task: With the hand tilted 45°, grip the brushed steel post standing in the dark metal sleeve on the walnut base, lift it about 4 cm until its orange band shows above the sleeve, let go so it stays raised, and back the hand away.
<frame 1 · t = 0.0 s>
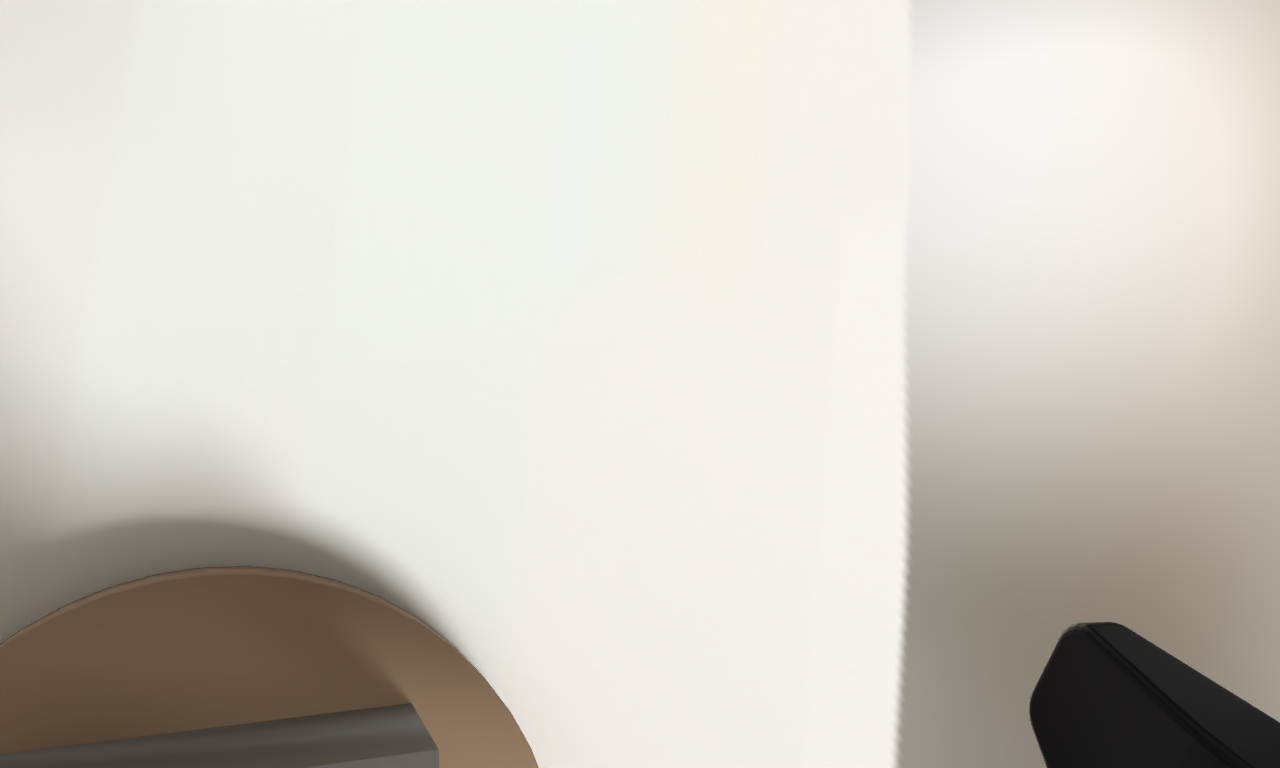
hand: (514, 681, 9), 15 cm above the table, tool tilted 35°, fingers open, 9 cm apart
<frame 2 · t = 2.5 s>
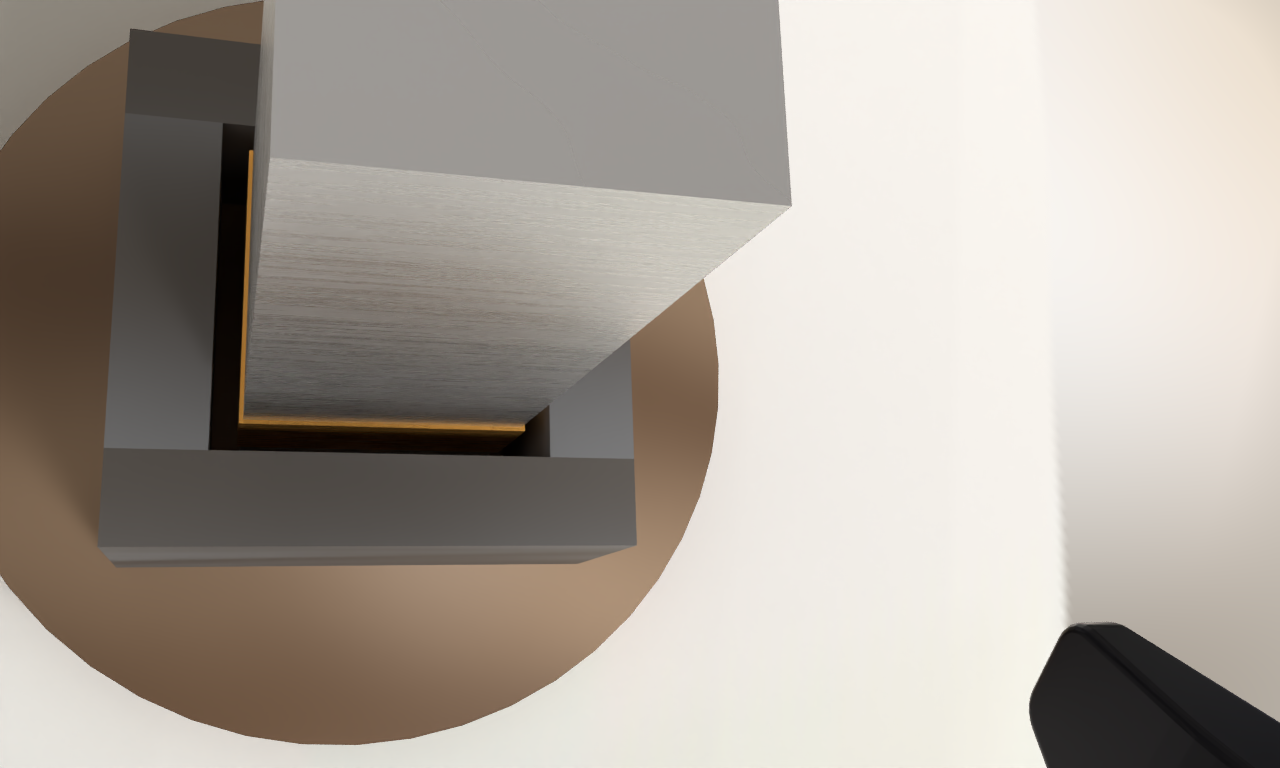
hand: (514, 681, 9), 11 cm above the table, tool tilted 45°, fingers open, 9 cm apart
post: (421, 219, 14), point 7 cm above the table, slide at 0.0 cm
stand base: (357, 362, 20), on the table
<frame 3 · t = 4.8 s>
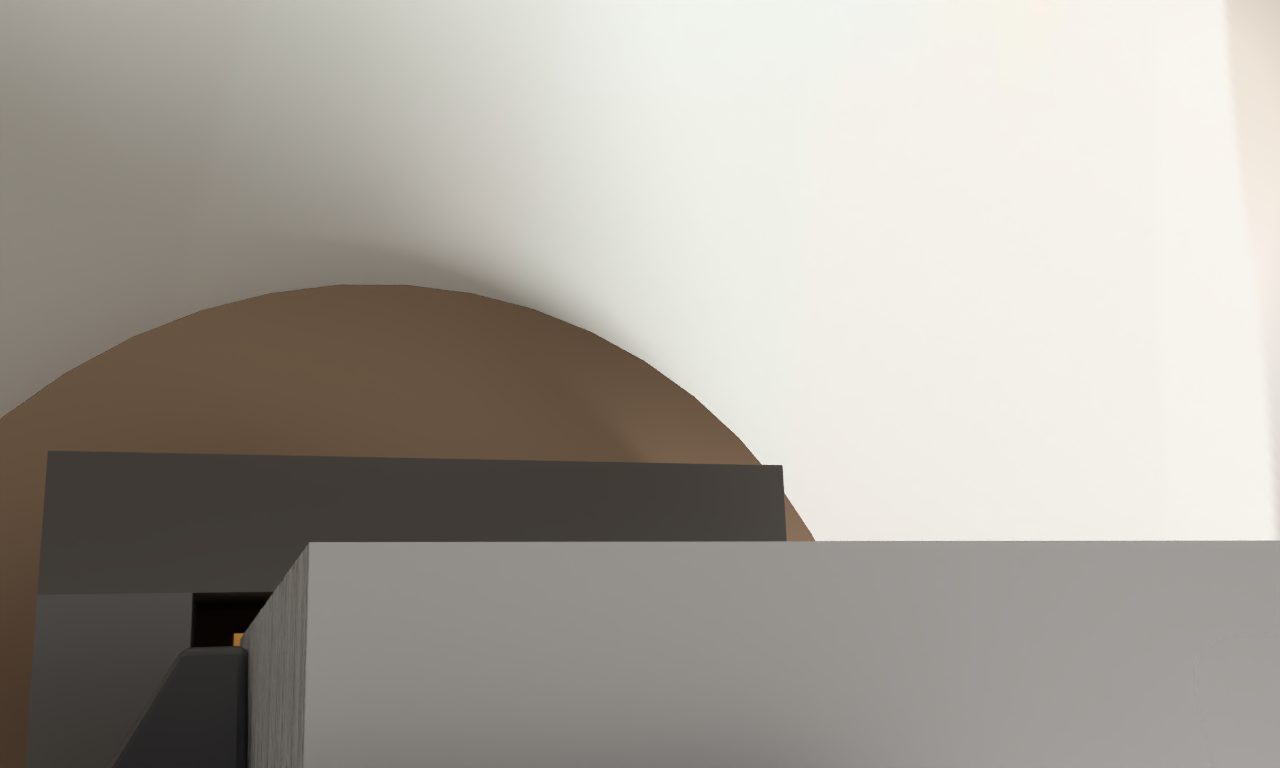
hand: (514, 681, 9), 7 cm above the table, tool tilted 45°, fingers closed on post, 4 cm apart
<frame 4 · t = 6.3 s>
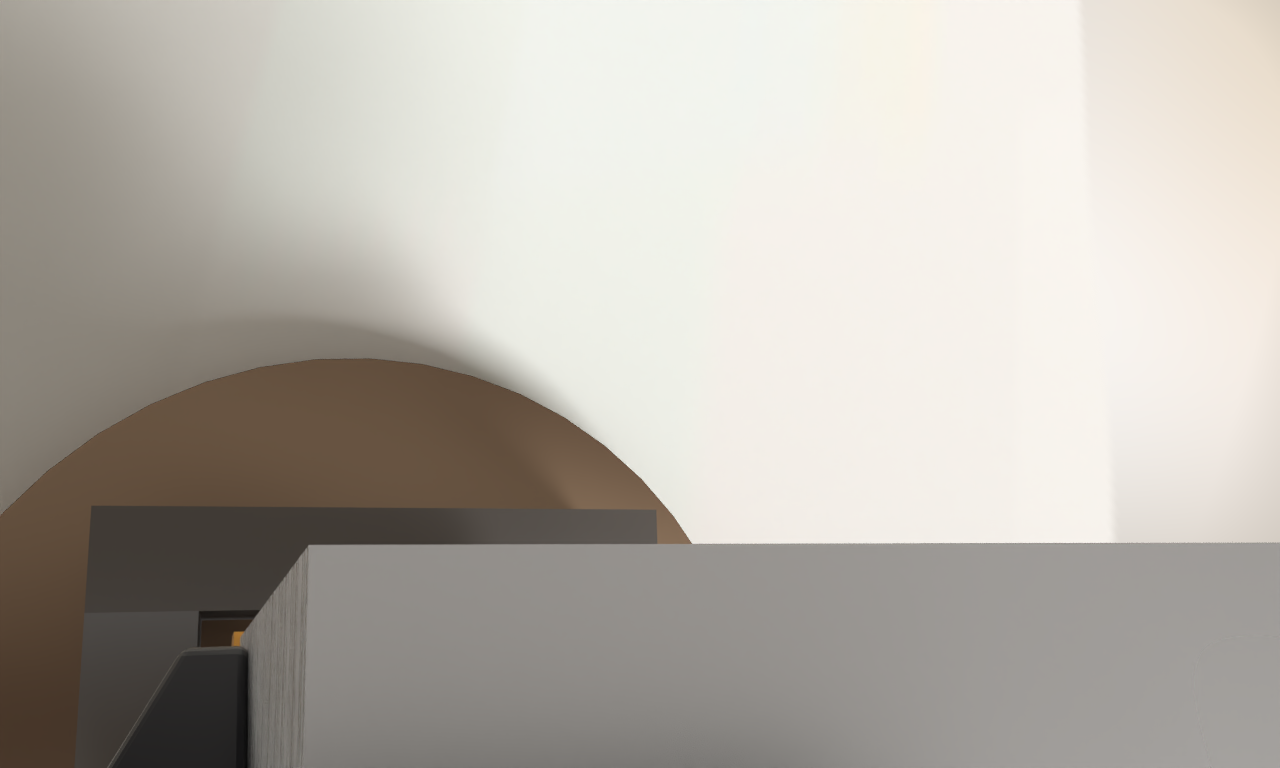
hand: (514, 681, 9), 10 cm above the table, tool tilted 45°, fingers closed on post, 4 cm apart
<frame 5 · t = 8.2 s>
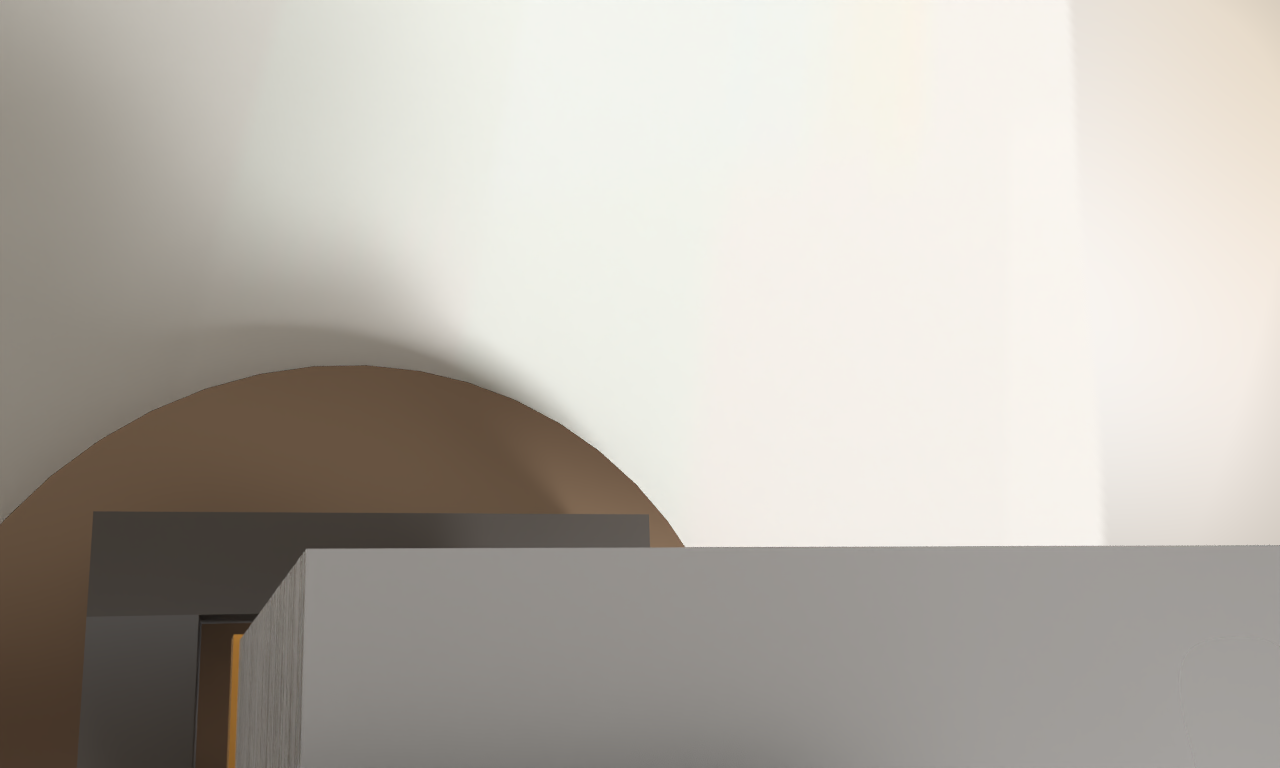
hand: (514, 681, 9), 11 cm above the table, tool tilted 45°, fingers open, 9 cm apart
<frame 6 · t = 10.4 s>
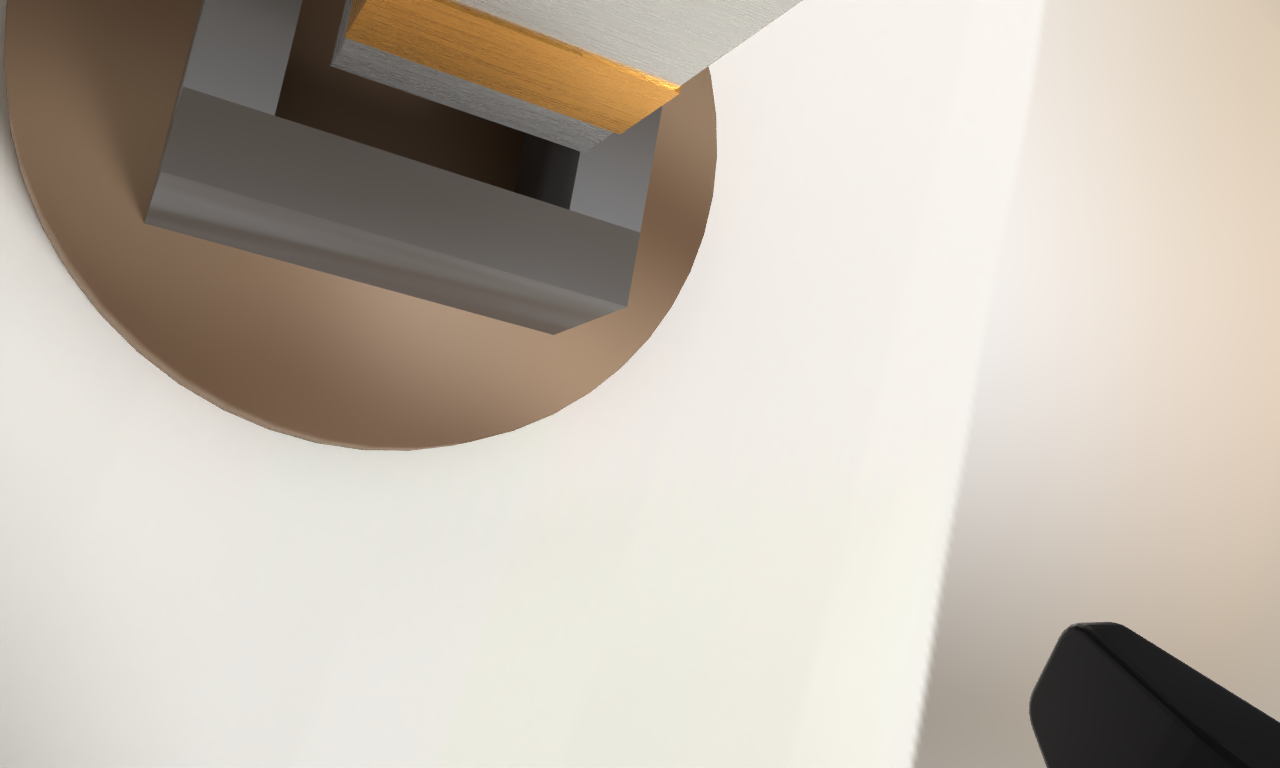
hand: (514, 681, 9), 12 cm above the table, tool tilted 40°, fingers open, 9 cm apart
stand base: (390, 109, 22), on the table
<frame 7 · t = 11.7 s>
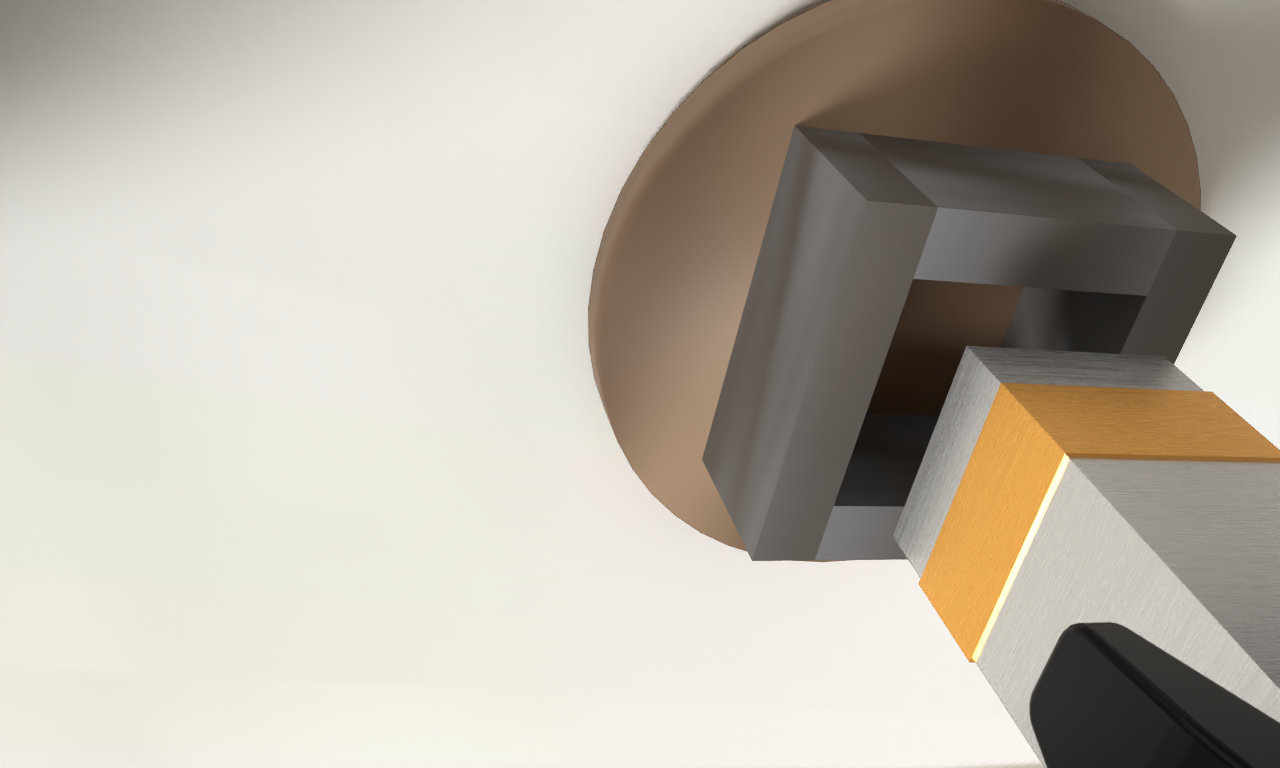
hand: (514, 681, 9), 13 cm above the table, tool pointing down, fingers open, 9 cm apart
post: (1258, 713, 15), point 11 cm above the table, slide at 4.1 cm
stand base: (889, 290, 24), on the table
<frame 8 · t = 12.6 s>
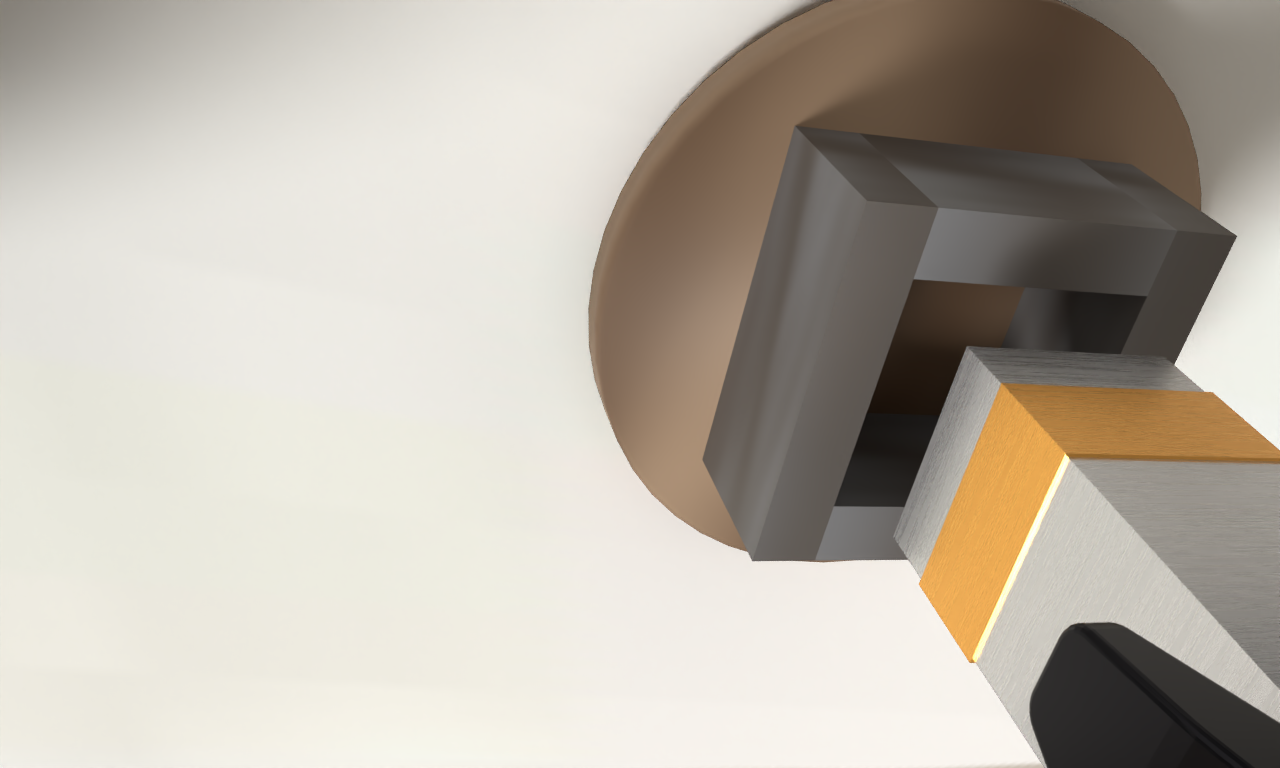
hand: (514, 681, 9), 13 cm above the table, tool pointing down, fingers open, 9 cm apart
post: (1258, 714, 15), point 11 cm above the table, slide at 4.1 cm
stand base: (889, 290, 24), on the table
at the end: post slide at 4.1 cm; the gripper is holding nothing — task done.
